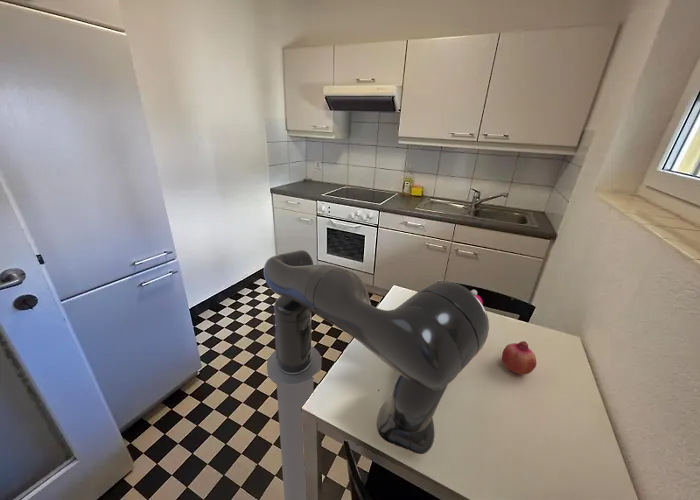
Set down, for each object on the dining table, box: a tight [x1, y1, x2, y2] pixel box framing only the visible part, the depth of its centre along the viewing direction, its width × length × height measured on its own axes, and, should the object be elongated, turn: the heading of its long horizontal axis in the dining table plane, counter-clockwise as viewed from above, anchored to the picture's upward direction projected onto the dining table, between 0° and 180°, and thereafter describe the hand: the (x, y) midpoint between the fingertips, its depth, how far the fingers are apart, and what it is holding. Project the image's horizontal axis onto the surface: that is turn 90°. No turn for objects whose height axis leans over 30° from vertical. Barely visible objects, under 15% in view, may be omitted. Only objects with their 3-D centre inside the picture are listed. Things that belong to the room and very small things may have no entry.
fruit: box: [501, 340, 537, 376], centre depth 76 cm, size 8×8×10 cm
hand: (421, 323), depth 81 cm, fingers open, 8 cm apart
